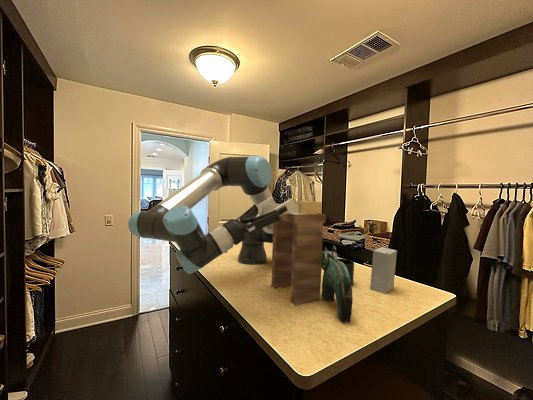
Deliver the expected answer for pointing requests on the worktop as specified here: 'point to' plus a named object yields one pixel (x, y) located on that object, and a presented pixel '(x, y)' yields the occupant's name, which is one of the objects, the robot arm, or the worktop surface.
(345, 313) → the dark green curved figure
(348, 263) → the mug
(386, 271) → the skincare box
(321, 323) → the worktop surface
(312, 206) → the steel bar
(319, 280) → the walnut shelf
